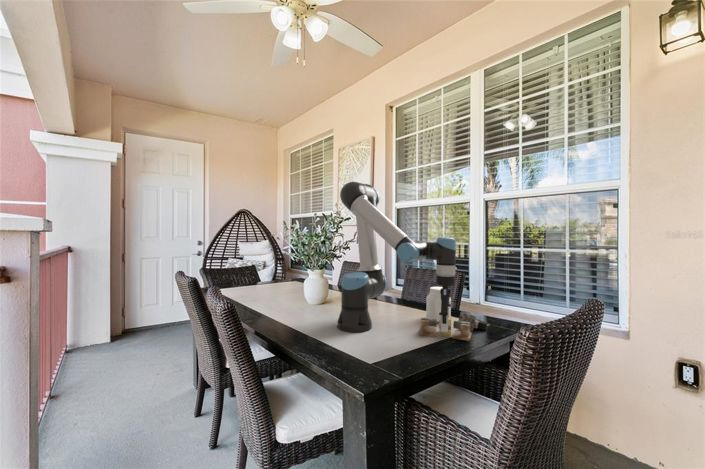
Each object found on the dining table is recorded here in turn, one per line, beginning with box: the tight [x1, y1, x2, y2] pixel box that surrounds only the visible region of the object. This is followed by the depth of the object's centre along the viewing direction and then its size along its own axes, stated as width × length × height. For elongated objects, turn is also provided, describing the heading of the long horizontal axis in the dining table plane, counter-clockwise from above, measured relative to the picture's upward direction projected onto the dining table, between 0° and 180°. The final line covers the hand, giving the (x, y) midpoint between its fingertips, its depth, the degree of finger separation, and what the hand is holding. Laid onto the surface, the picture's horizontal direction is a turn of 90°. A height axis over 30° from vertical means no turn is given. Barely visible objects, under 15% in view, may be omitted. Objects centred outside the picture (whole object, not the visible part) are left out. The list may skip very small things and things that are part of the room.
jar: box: [425, 286, 452, 323], centre depth 157 cm, size 12×10×15 cm
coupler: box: [438, 316, 452, 338], centre depth 135 cm, size 5×5×7 cm
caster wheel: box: [457, 311, 488, 333], centre depth 143 cm, size 7×11×10 cm
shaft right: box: [451, 320, 473, 342], centre depth 132 cm, size 6×8×6 cm
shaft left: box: [419, 317, 438, 337], centre depth 136 cm, size 6×8×6 cm
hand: (444, 326), depth 135 cm, fingers open, 13 cm apart
